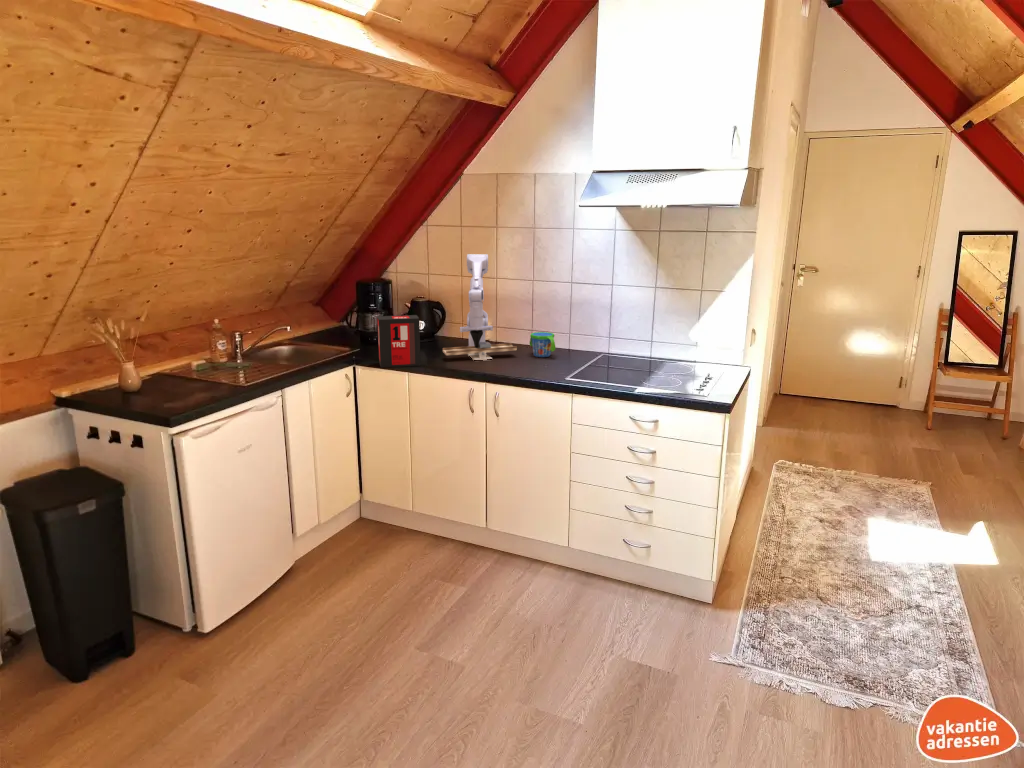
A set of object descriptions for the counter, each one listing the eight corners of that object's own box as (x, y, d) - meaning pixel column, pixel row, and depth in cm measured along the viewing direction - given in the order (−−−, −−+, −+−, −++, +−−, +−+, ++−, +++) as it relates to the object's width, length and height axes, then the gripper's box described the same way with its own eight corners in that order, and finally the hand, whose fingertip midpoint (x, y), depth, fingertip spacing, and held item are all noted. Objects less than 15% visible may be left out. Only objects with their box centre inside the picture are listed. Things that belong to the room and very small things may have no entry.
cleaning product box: (380, 367, 276) (378, 319, 271) (379, 362, 284) (377, 316, 279) (420, 365, 280) (419, 318, 275) (417, 360, 288) (416, 315, 283)
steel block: (477, 347, 296) (476, 342, 296) (487, 347, 298) (487, 341, 297) (480, 350, 292) (479, 344, 291) (490, 349, 293) (490, 343, 293)
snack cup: (522, 354, 304) (523, 332, 301) (542, 351, 309) (542, 330, 307) (541, 360, 291) (542, 337, 289) (561, 358, 296) (562, 335, 294)
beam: (446, 355, 286) (446, 351, 286) (442, 352, 293) (442, 348, 292) (516, 350, 296) (516, 346, 296) (511, 347, 303) (511, 343, 302)
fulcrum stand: (468, 355, 299) (468, 347, 298) (485, 354, 301) (485, 347, 301) (474, 361, 289) (474, 352, 288) (492, 359, 291) (492, 351, 290)
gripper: (462, 318, 284) (462, 349, 288) (494, 317, 289) (494, 348, 292) (458, 316, 291) (458, 346, 294) (490, 315, 295) (490, 345, 298)
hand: (476, 347), depth 293 cm, fingers closed
